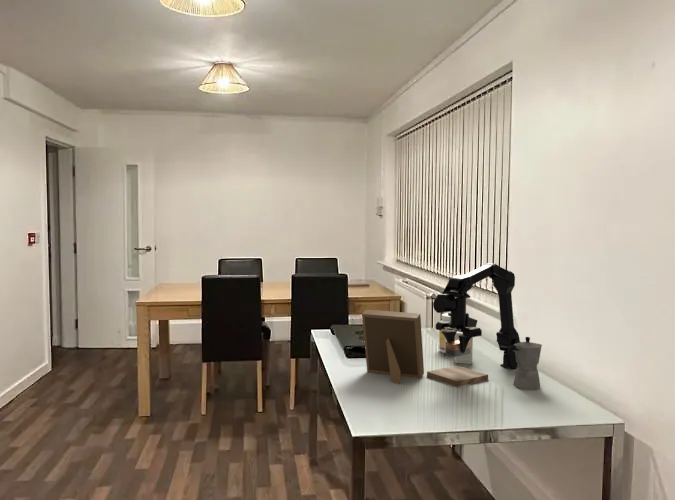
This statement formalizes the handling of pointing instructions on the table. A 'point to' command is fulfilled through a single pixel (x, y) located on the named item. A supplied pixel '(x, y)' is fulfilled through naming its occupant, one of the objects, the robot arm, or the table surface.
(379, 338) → the photo frame
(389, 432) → the table surface
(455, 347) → the block
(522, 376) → the coffeepot
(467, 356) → the supplement box
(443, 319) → the supplement tub
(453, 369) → the walnut stand
